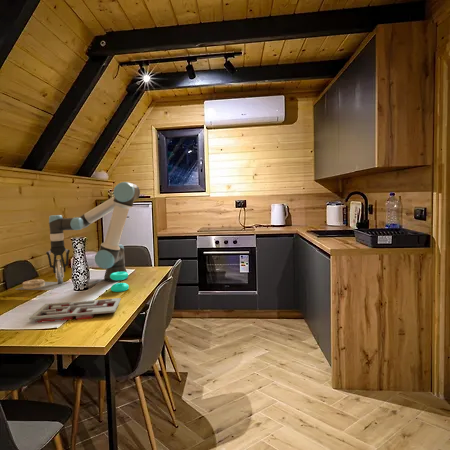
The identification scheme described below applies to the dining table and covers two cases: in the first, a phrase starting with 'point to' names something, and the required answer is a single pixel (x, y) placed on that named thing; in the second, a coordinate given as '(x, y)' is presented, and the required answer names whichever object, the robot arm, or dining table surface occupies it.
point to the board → (46, 286)
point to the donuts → (119, 286)
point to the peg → (59, 271)
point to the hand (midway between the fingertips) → (60, 277)
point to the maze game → (75, 310)
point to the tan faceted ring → (33, 284)
